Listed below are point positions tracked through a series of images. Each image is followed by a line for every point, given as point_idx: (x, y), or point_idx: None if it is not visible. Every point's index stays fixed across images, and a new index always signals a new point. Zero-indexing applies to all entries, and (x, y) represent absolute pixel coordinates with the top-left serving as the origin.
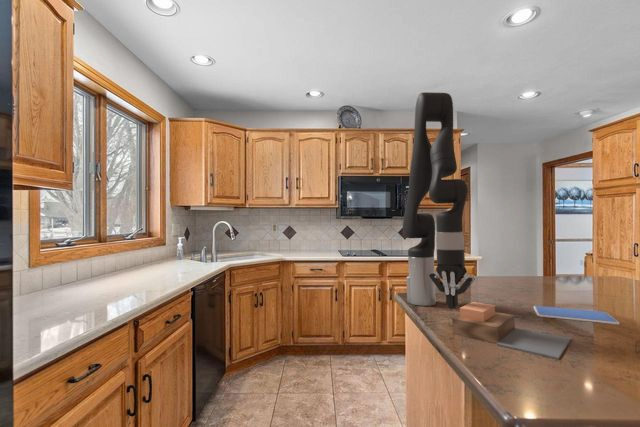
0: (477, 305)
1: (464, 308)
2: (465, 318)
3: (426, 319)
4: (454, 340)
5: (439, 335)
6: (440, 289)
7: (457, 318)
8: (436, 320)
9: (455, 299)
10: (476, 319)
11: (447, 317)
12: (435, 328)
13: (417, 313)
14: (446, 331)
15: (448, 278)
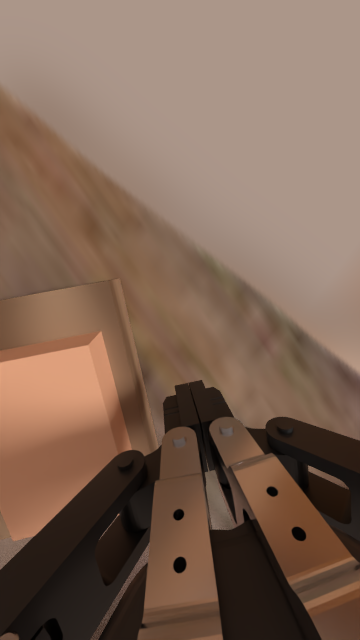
0: (63, 468)
1: (63, 356)
2: (71, 332)
3: (288, 346)
4: (67, 213)
5: (139, 218)
6: (288, 424)
7: (95, 302)
8: (255, 366)
9: (166, 423)
10: (17, 348)
11: (249, 427)
12: (201, 280)
13: (353, 381)
14: (152, 283)
15: (266, 585)
